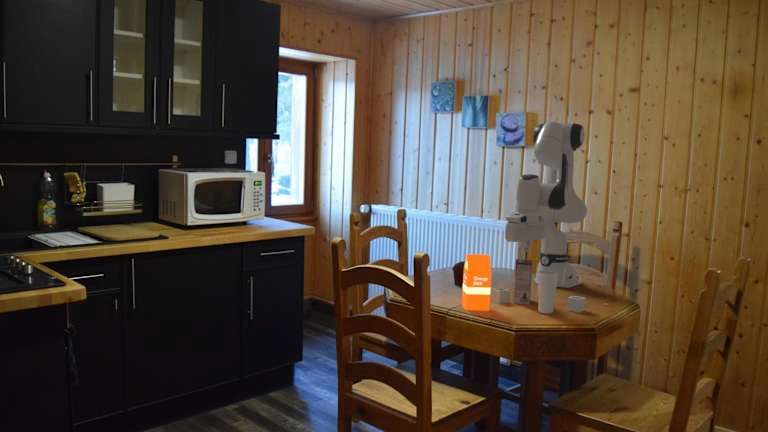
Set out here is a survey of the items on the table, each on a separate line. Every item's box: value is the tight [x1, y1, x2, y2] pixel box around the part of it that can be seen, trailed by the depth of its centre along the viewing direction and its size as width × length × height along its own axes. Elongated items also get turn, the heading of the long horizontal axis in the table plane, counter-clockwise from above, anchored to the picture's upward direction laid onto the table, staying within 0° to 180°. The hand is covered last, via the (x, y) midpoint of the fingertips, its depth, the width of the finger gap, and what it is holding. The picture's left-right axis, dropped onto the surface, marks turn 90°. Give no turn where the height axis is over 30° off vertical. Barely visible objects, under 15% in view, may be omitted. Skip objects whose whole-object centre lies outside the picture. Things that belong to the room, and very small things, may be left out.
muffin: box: [451, 260, 466, 288], centre depth 282 cm, size 12×11×10 cm
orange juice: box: [461, 253, 492, 312], centre depth 240 cm, size 8×9×20 cm
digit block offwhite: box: [566, 295, 586, 314], centre depth 243 cm, size 5×5×5 cm
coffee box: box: [513, 258, 533, 305], centre depth 254 cm, size 9×6×16 cm
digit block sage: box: [490, 287, 511, 305], centre depth 253 cm, size 5×5×5 cm
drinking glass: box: [537, 271, 558, 315], centre depth 238 cm, size 7×7×15 cm
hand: (524, 252), depth 253 cm, fingers closed
